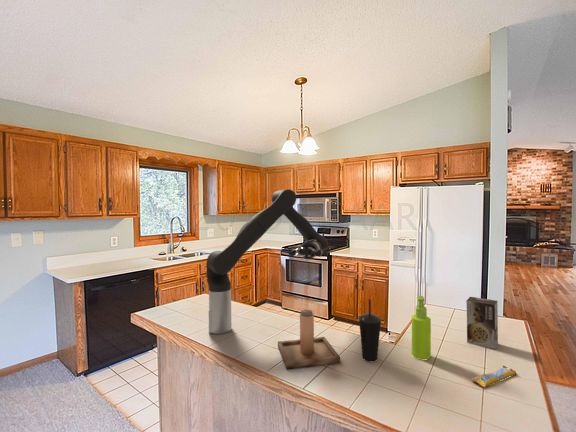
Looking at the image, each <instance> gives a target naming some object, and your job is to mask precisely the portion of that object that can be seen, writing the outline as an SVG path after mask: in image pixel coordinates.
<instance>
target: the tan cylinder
mask: <svg viewBox="0 0 576 432" xmlns="http://www.w3.org/2000/svg"><path fill="white" fill-rule="evenodd" d="M314 319H315V317H314V313H313V311H312V309H302V310H301V311H300V313H299V339H300V352H301V354H303V355H311V354H313V353H314V338H315V328H314V327H315V320H314Z"/></svg>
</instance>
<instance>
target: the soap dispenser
mask: <svg viewBox="0 0 576 432" xmlns="http://www.w3.org/2000/svg"><path fill="white" fill-rule="evenodd" d="M416 298H417V300H418V302H417V304H418V305H417V306H415V314H414V315H412V316H411V355H413V356H414V357H413V356H412V357H413V358H415V357H416V358H415V359H417V358H420V359H429V358H430V357H431V358H432V356H431V355H432V351H431V350H432V349H431V348H432V346H431V345H432V342H431V340H432V339H431V333H432V326H431V325H432V324H431V322H432V321H431V317H430V316H427V307H426V306H425V297H424V296H423V295H417V296H416ZM431 358H430V359H431ZM420 359H419V360H420ZM430 359H429V360H430Z"/></svg>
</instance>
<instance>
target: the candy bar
mask: <svg viewBox="0 0 576 432" xmlns="http://www.w3.org/2000/svg"><path fill="white" fill-rule="evenodd" d="M514 374H516V375H517V372H516V371H515V370H514V369H513V368H511V367H510V368H509V369H508V367H507V366H505V365H502V367H501V368H499V369H496V370H493V371H491V372H488V373H484V374H482V375H478V376H476V377H473V378H470V377H469V378H468V379H469V380H471V381H473V382H475V383H477V384H478V385H479V386H481V387H483V388H486V387H489V386H492V385H494V384H493V383H495V384H497V383H499V382H501V381H500V380H502V379H504V380H506V379H505V378H507V377H509V376H512V375H514ZM514 376H515V375H514ZM512 377H513V376H512ZM509 378H510V377H509ZM507 379H508V378H507ZM498 381H499V382H498ZM502 381H503V380H502ZM496 382H497V383H496ZM491 384H492V385H491Z"/></svg>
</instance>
